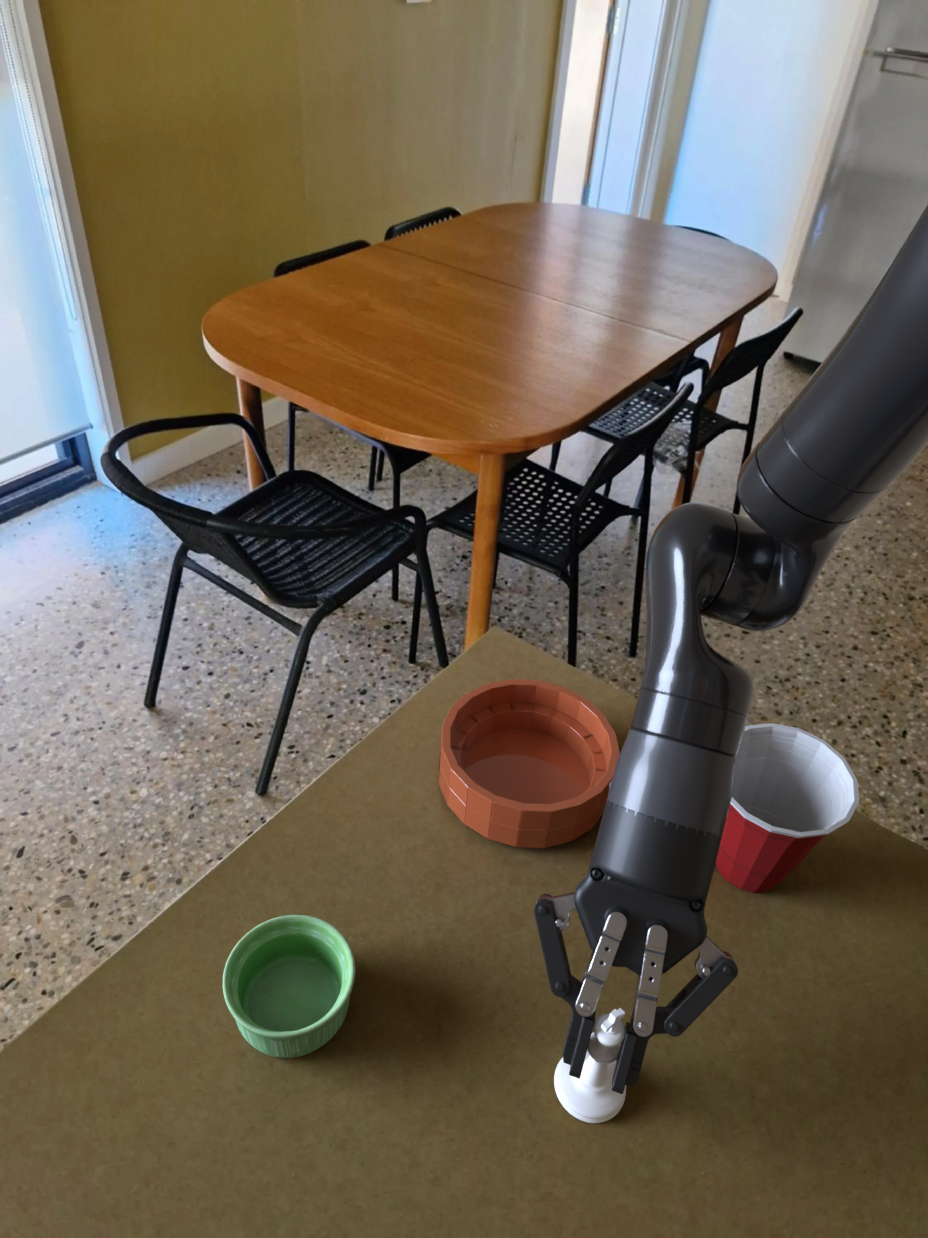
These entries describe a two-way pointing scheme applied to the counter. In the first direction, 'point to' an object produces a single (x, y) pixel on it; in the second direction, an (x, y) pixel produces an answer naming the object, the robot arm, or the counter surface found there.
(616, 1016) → the chess piece
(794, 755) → the plastic cup
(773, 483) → the robot arm
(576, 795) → the bowl
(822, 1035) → the counter surface
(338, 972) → the ramekin
